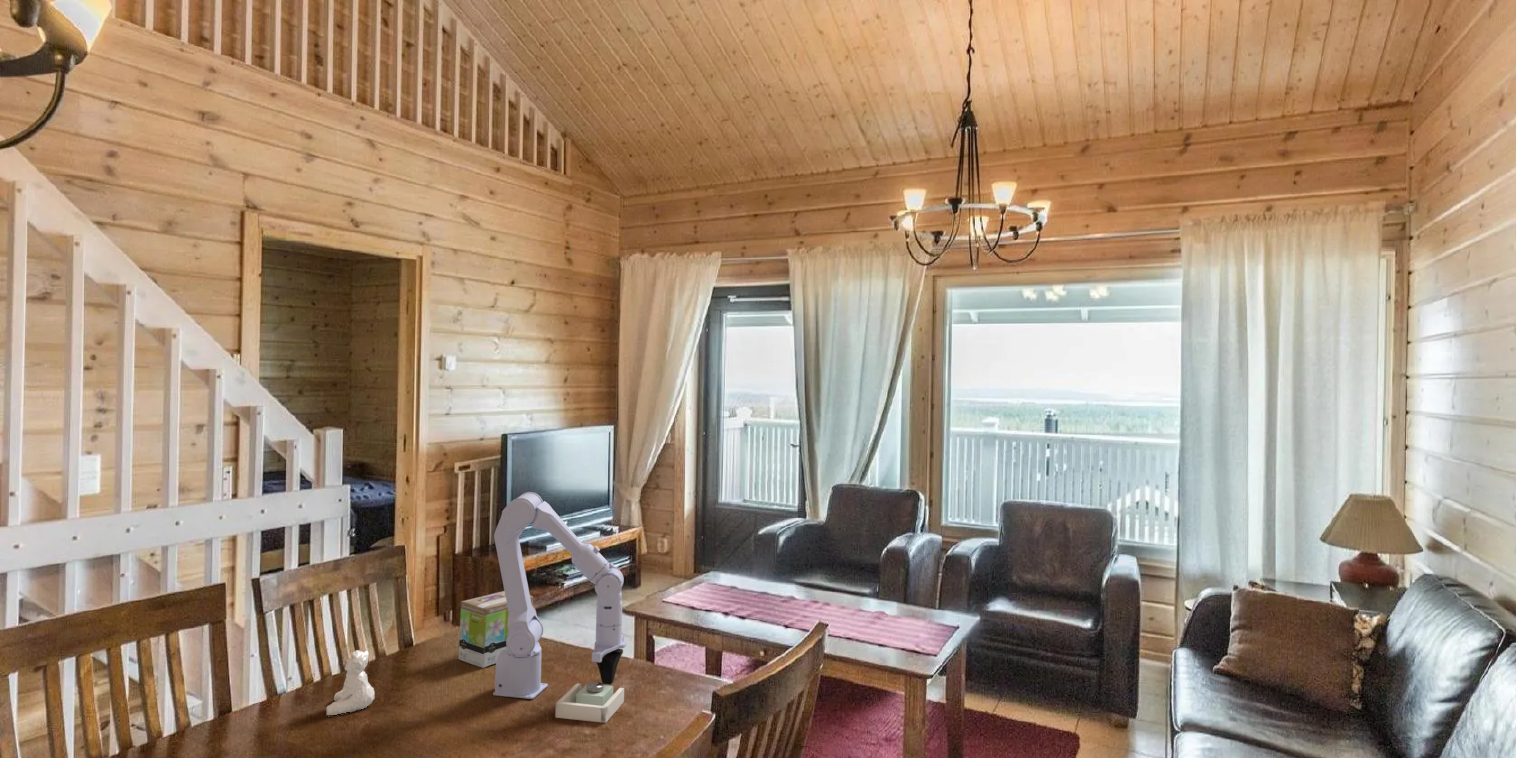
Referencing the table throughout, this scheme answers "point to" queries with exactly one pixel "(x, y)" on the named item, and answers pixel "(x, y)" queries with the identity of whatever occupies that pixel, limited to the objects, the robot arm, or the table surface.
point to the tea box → (483, 629)
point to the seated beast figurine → (353, 687)
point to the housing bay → (587, 707)
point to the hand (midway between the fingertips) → (607, 683)
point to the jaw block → (594, 694)
